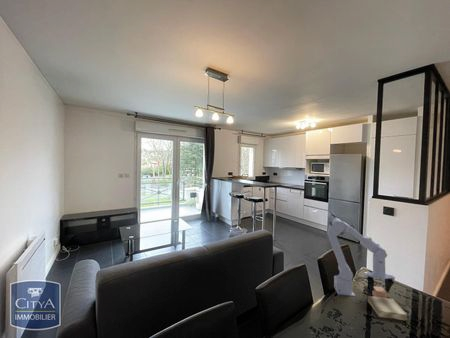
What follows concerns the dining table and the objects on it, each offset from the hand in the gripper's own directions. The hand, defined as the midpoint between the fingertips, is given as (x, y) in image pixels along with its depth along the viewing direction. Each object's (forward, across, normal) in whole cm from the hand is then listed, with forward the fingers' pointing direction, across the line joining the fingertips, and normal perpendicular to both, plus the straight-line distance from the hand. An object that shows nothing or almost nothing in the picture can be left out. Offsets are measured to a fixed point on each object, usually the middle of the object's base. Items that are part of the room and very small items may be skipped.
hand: (379, 290), depth 113 cm
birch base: (+4, -2, -11) cm, 12 cm away
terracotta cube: (+4, 0, 0) cm, 4 cm away
